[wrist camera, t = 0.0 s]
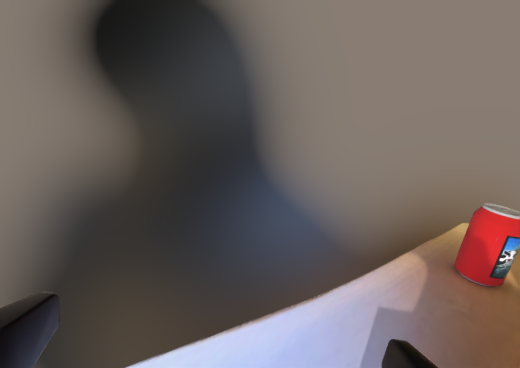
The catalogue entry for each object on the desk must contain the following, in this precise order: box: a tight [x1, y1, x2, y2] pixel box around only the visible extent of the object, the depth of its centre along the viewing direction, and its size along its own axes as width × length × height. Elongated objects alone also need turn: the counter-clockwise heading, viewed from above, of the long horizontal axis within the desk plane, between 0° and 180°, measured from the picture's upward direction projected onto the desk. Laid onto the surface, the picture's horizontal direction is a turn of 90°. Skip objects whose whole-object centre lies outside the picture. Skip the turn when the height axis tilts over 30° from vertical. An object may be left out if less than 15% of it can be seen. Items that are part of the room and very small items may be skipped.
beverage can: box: [454, 203, 520, 286], centre depth 46 cm, size 7×7×12 cm
